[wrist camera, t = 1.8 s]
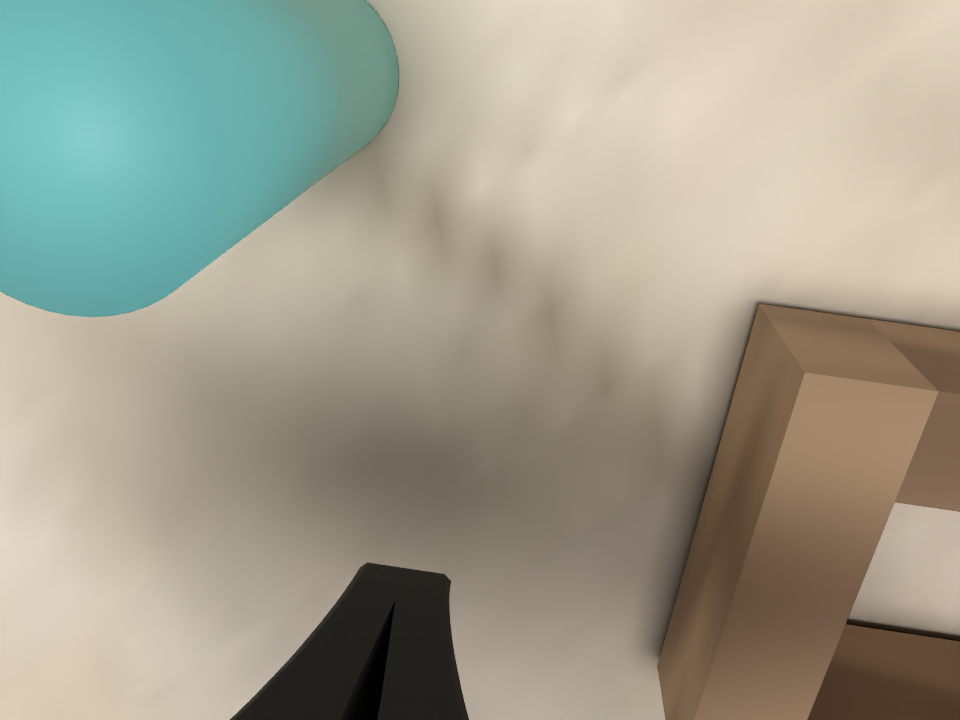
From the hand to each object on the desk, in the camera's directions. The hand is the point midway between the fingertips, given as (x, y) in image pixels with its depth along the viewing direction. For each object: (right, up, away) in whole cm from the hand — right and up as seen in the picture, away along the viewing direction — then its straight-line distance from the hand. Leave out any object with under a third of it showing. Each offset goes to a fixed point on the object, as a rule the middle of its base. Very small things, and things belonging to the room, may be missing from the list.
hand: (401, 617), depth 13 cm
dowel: (-2, +9, +1) cm, 9 cm away
